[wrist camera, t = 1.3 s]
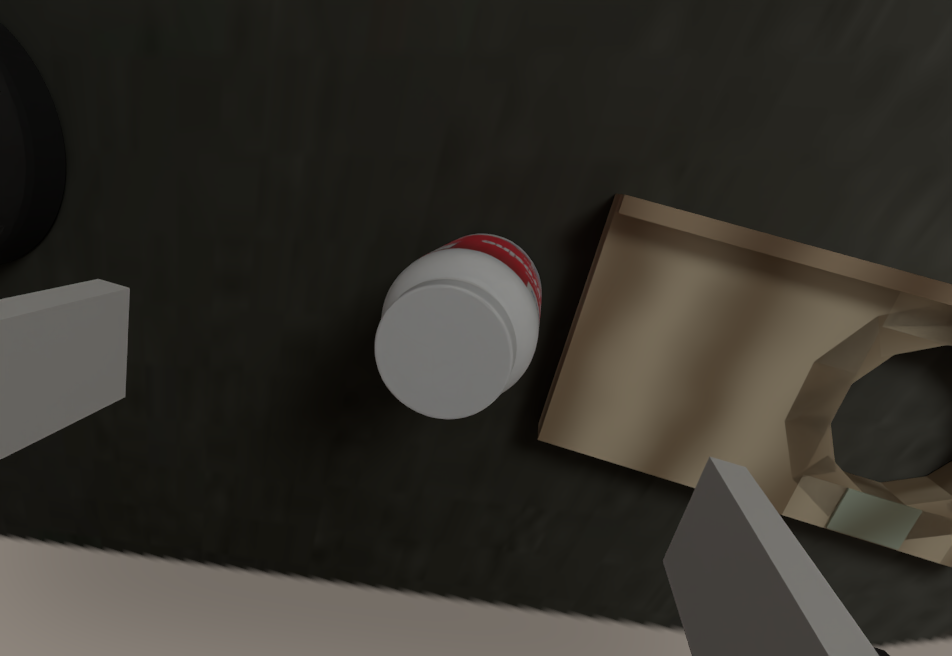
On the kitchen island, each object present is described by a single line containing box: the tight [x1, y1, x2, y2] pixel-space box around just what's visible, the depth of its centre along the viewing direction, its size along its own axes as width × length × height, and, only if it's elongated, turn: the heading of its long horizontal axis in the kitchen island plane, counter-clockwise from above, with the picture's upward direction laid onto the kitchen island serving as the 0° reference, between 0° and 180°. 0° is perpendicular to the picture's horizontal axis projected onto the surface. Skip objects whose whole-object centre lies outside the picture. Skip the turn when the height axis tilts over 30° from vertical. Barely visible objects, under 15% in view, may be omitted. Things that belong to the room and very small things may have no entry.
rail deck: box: [538, 194, 952, 567], centre depth 24 cm, size 24×13×3 cm, turn 75°
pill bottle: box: [375, 234, 542, 419], centre depth 22 cm, size 6×6×11 cm
